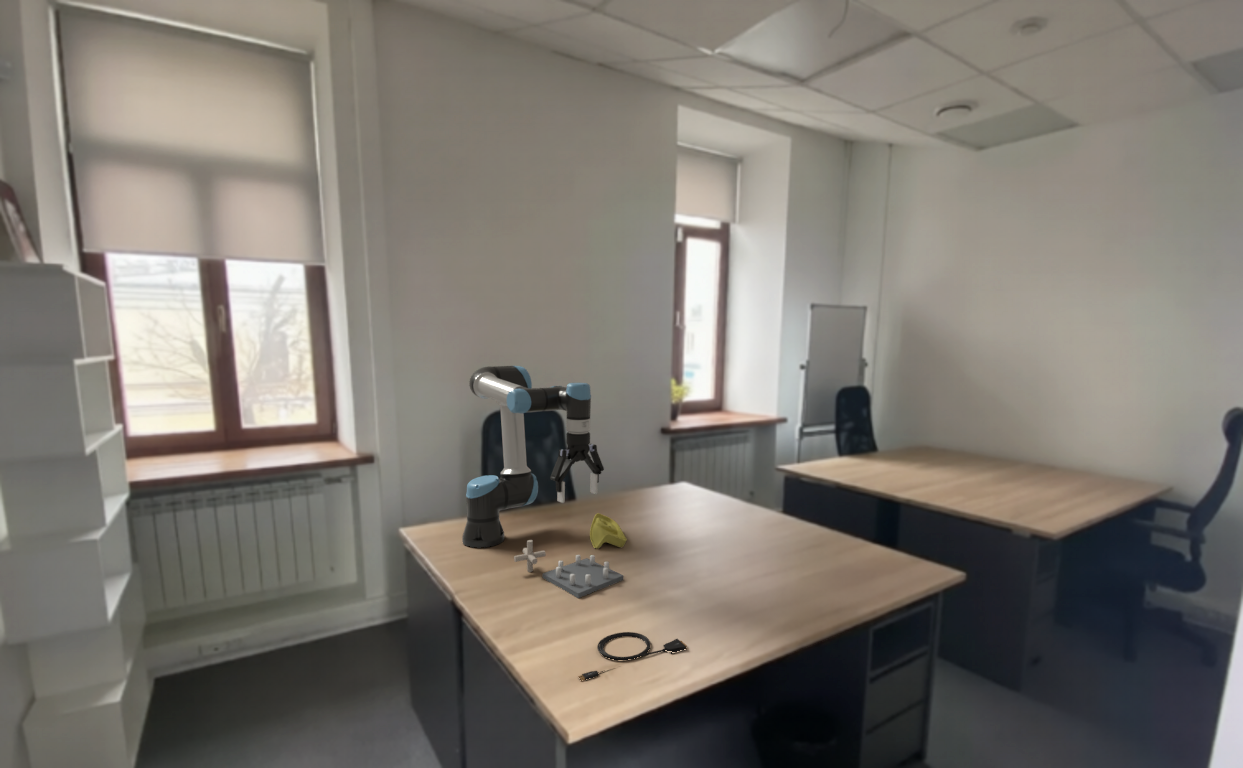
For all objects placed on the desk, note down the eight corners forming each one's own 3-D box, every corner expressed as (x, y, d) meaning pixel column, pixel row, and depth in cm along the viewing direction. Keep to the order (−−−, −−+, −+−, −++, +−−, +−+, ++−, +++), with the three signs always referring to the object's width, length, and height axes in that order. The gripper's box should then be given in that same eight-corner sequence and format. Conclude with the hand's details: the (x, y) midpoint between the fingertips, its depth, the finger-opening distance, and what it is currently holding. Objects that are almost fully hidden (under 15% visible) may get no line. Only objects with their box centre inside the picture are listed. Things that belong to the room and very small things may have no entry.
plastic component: (628, 542, 195) (604, 532, 192) (619, 560, 195) (594, 550, 193) (616, 520, 214) (593, 511, 211) (607, 536, 214) (585, 527, 212)
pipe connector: (519, 580, 168) (519, 549, 168) (510, 568, 177) (510, 538, 176) (550, 573, 173) (549, 543, 172) (539, 562, 182) (539, 533, 181)
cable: (559, 652, 131) (559, 646, 131) (659, 625, 143) (659, 620, 143) (581, 684, 119) (581, 677, 118) (688, 652, 131) (688, 646, 131)
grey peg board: (542, 578, 170) (542, 564, 170) (586, 562, 182) (586, 549, 182) (578, 598, 157) (578, 583, 156) (623, 579, 169) (623, 566, 169)
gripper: (554, 438, 160) (553, 508, 161) (615, 429, 177) (614, 492, 179) (538, 434, 165) (538, 502, 167) (599, 426, 182) (598, 487, 184)
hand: (577, 497), depth 173 cm, fingers open, 13 cm apart
